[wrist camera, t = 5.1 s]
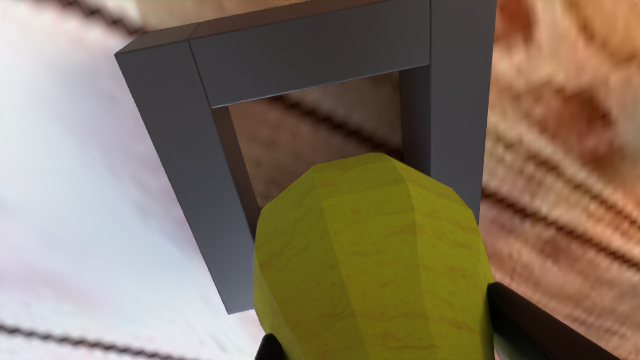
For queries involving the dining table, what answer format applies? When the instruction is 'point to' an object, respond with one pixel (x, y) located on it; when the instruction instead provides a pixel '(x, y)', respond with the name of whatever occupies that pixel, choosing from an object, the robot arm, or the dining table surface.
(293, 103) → the dining table surface
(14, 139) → the dining table surface
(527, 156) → the dining table surface
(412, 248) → the fruit
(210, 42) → the holder
